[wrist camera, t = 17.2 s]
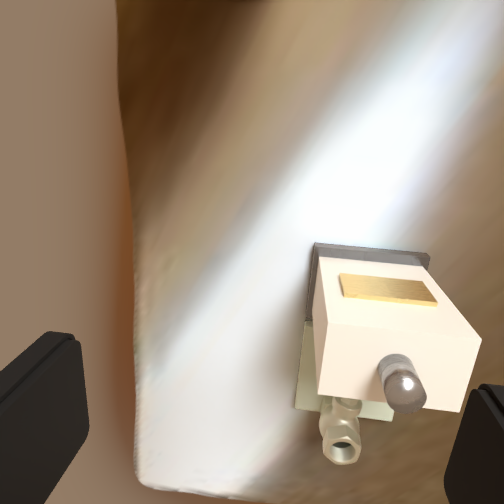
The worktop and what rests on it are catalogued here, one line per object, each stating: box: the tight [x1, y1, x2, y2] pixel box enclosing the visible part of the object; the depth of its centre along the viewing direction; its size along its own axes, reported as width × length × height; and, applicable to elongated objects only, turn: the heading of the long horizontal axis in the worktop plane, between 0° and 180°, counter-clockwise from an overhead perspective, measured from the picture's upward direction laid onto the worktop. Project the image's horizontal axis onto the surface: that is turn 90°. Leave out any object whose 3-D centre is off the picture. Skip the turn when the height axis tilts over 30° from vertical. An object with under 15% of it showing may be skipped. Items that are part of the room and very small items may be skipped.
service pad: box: [295, 321, 394, 421], centre depth 43 cm, size 11×11×1 cm
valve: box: [319, 395, 363, 465], centre depth 40 cm, size 7×7×12 cm
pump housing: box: [306, 243, 482, 414], centre depth 32 cm, size 8×11×17 cm
